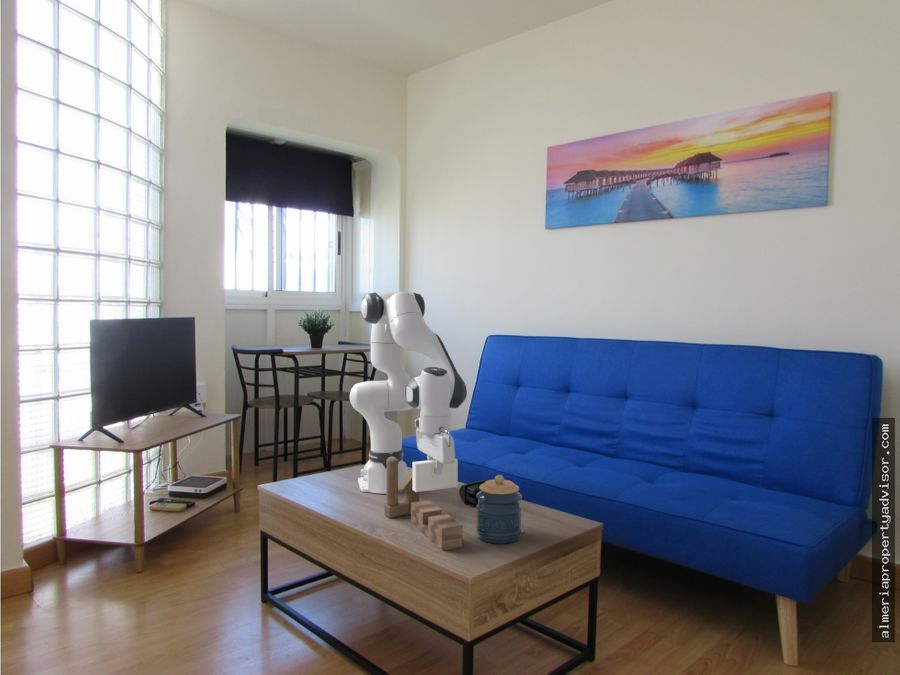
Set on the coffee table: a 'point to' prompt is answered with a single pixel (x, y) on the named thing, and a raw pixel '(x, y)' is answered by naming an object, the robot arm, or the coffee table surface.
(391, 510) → the wooden block
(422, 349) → the robot arm
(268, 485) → the coffee table surface
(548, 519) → the coffee table surface
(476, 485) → the end cap
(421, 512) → the walnut crossbar
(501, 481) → the canister
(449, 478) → the white rectangular slab
